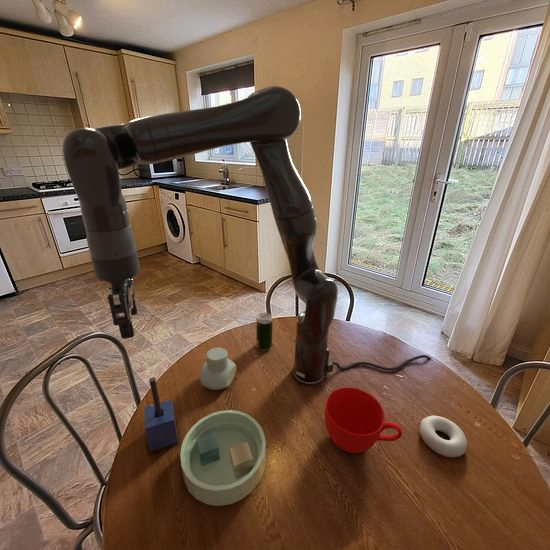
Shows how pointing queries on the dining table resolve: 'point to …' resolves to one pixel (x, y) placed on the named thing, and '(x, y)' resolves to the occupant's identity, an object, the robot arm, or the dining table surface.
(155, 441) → the holder
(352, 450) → the ceramic cup
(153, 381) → the stick
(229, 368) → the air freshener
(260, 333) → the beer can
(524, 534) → the dining table surface
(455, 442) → the donut
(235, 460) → the cream block
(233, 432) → the bowl
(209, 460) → the teal block
